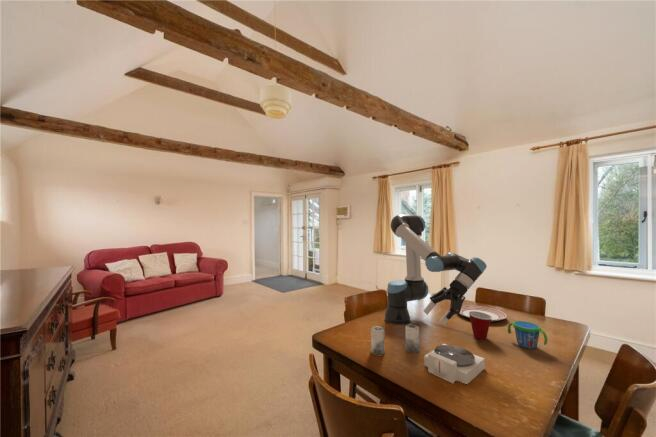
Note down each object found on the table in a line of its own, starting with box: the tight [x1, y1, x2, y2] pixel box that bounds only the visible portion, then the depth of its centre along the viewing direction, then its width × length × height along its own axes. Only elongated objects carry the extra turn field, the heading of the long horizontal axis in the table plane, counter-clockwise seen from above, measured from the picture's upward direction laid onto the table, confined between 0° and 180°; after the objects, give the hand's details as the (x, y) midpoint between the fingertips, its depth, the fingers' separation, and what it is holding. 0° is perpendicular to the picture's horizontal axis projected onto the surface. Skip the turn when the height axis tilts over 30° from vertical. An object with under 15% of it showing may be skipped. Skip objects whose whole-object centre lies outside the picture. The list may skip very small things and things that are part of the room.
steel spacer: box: [370, 325, 385, 356], centre depth 120 cm, size 6×6×11 cm
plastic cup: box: [469, 311, 492, 341], centre depth 135 cm, size 11×11×12 cm
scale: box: [423, 343, 486, 385], centre depth 107 cm, size 17×21×7 cm
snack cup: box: [507, 320, 548, 350], centre depth 126 cm, size 16×10×10 cm
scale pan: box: [433, 344, 475, 366], centre depth 108 cm, size 15×15×1 cm
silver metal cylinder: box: [405, 323, 420, 354], centre depth 122 cm, size 6×6×11 cm
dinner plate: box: [459, 305, 507, 323], centre depth 165 cm, size 27×27×3 cm
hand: (432, 317), depth 124 cm, fingers open, 13 cm apart
